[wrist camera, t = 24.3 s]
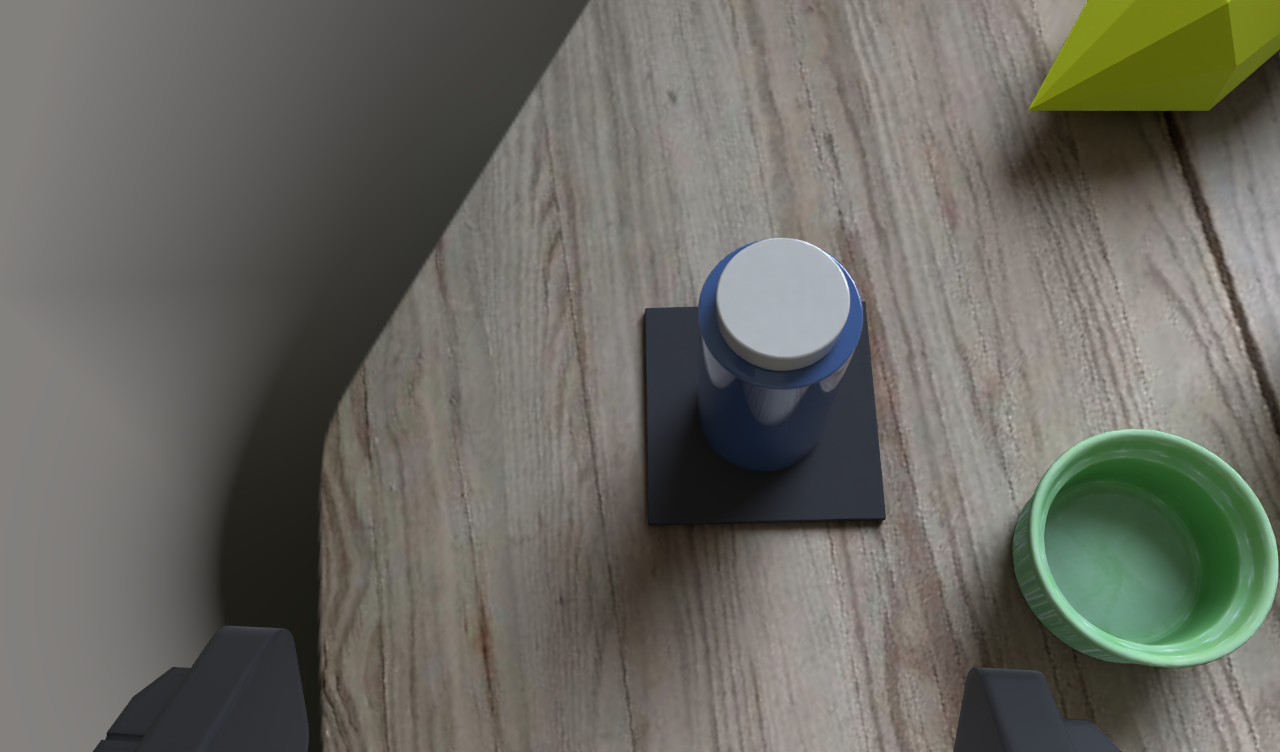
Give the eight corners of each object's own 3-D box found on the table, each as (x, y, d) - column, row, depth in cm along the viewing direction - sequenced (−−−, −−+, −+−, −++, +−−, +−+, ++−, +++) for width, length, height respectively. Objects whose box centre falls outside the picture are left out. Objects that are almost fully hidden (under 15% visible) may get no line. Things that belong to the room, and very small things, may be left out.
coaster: (648, 525, 44) (648, 523, 43) (645, 311, 47) (645, 307, 47) (884, 520, 43) (886, 518, 43) (864, 304, 47) (865, 301, 46)
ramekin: (1271, 593, 41) (1334, 575, 37) (1101, 723, 40) (1147, 719, 36) (1116, 419, 44) (1159, 385, 40) (953, 535, 43) (979, 512, 39)
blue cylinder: (700, 474, 44) (700, 378, 33) (695, 352, 46) (695, 223, 35) (830, 470, 44) (877, 373, 33) (821, 349, 46) (861, 217, 34)
